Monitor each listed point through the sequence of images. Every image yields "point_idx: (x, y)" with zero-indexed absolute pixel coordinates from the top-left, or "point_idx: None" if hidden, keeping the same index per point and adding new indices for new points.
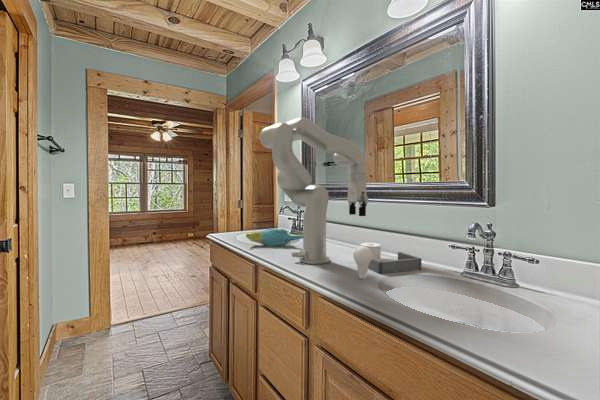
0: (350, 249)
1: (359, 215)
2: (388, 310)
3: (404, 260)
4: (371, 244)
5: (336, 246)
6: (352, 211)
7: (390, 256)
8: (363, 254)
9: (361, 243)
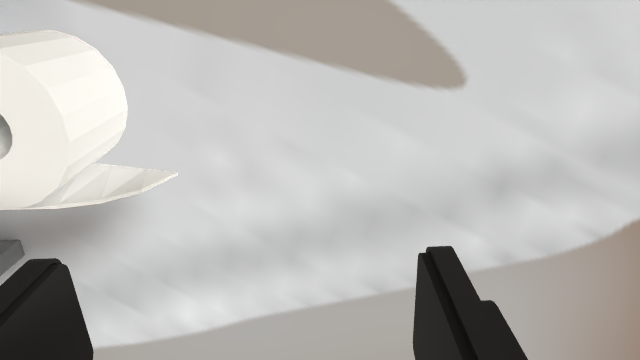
0: (437, 138)
1: (30, 262)
2: None
3: None
4: (12, 151)
5: (593, 81)
6: (430, 333)
7: (162, 275)
8: None
9: (33, 76)
